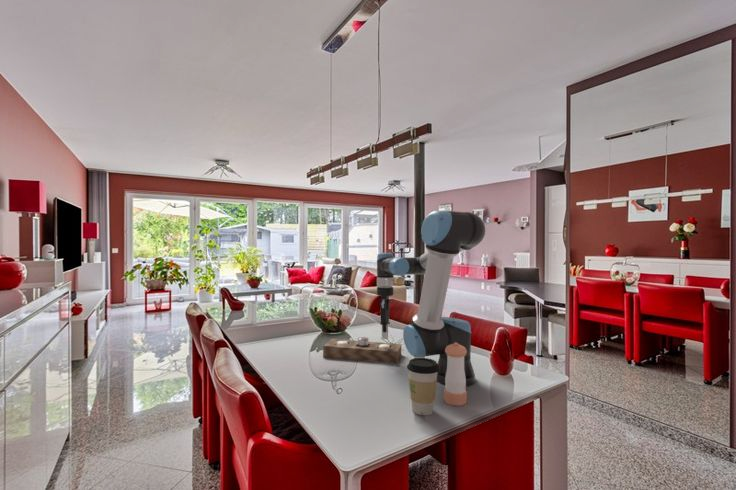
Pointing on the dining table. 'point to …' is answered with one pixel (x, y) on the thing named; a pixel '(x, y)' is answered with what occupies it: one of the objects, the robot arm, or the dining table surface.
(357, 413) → the dining table surface
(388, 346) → the right knob
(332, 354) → the block
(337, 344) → the left knob
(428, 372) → the coffee cup
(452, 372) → the salt shaker
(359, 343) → the pot dial
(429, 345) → the robot arm
